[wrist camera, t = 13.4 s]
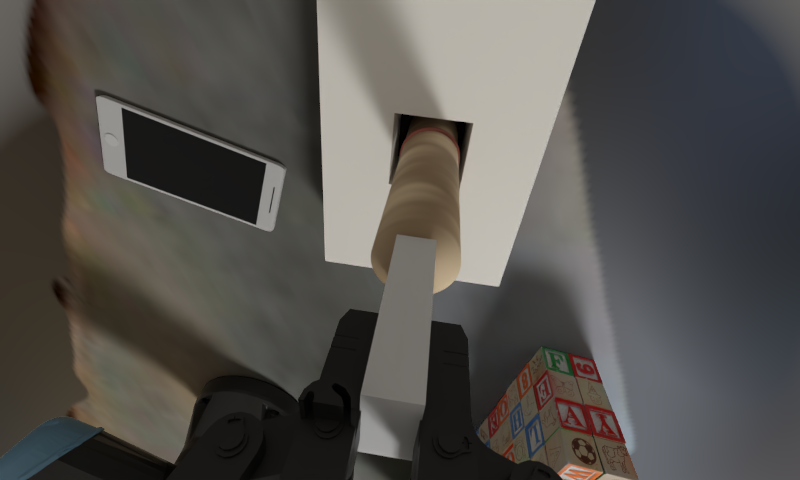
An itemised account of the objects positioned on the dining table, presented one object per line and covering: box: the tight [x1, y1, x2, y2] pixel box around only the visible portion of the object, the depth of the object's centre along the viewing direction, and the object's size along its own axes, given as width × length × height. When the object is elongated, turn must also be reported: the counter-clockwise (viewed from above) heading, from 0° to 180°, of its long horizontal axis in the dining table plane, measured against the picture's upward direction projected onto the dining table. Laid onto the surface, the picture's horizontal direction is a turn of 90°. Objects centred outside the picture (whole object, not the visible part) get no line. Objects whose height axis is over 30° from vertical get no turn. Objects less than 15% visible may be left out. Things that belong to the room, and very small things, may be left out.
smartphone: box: [96, 95, 286, 231], centre depth 32 cm, size 7×15×1 cm, turn 69°
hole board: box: [317, 0, 595, 287], centre depth 26 cm, size 14×20×5 cm
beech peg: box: [371, 116, 461, 294], centre depth 21 cm, size 4×4×16 cm
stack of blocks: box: [476, 347, 638, 480], centre depth 41 cm, size 21×6×12 cm, turn 166°
